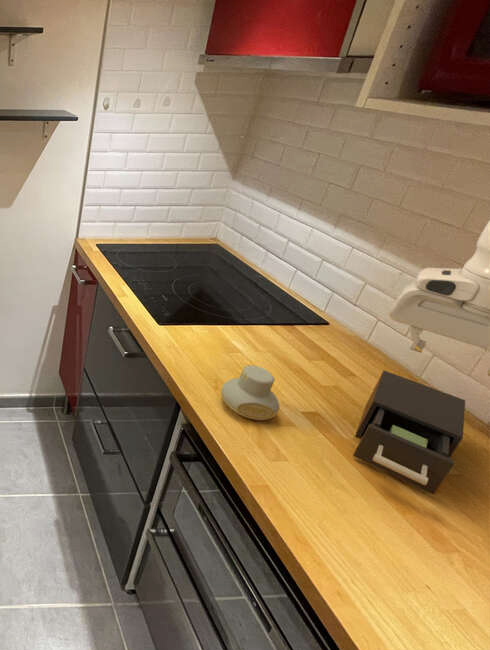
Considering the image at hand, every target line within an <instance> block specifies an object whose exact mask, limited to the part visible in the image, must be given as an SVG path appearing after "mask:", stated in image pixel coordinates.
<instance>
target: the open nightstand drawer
mask: <svg viewBox="0 0 490 650" xmlns="http://www.w3.org/2000/svg"><path fill="white" fill-rule="evenodd" d="M392 425H395V426H397V427H400V428H402V429H404V430H407V431H409V432H411V433H414V434H416V435H418V436H421V437H423V438H425V439H427V440H428V442H427V448H425V447H423V446H420V445H418V444H416V443H413V442H411V441H409V440H407V439H404V438H402V437H400V436H397V435H395V434H393V433H391V432H389V431H390V429H391V427H392ZM449 444H450V436H448V435H446V434H444V433H441V432H439V431H436V430H434V429H432V428H429V427H427V426H424V425H422V424H419V423H417V422H415V421H412V420H410V419H407V418H405V417H403V416H400V415H398V414H395V413H393V412H390V411H388V410H386V409H383V408H381V407H378V408H377V409H376V411H375V413H374V415H373V417H372V419H371V421H370V423H369V426H368V428H367V430H366V431H365V433H364V435H363V437H362V439H360V440H359V443H358V444H357V447H356V448H355V450H354V452H353V455H352V456H353V457H354V458H356V459H358V460H360V461H362V462H364V463H366V464H368V465H370V466H373V467H375V468H376V469H379V470H381V471H383V472H385V473H387V474H389V475H391V476H394V477H395V478H397V479H399V480H402V481H403V482H406V483H408V484H409V485H411V486H414V487H416V488H418V489H420V490H422V491H424V492H426V493H428V494H430V495H432V496H434V495H435V493H436V492H437V490H438V489H439V487H440V486H441V484H443V481H444V480H445V478H446V477H447V475H448V474H449V473H450V471H451V469H452V468H453V467H454V465H455V460H454V459H453V458H451V457H450V458H448V457H447V456H448V454H449Z"/></svg>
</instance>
